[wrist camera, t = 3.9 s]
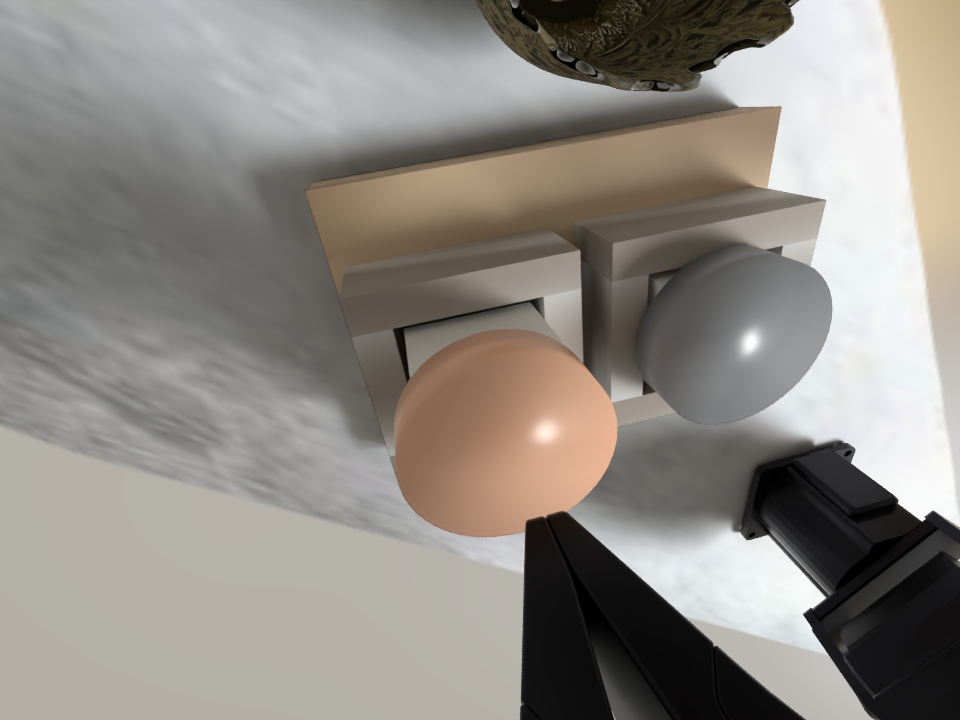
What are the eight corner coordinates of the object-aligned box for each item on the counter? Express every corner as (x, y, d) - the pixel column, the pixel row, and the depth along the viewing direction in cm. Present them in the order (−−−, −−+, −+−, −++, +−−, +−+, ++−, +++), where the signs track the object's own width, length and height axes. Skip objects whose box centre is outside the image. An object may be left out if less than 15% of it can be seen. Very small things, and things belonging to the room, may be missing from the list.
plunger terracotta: (561, 416, 16) (615, 507, 13) (412, 453, 16) (422, 558, 12) (553, 272, 14) (619, 333, 10) (371, 310, 13) (368, 390, 9)
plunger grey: (723, 345, 19) (808, 402, 15) (599, 374, 18) (655, 441, 15) (743, 211, 16) (854, 241, 12) (598, 241, 16) (668, 281, 12)
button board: (704, 373, 23) (779, 433, 19) (395, 447, 21) (400, 532, 17) (740, 107, 17) (864, 105, 13) (313, 182, 15) (287, 209, 11)
